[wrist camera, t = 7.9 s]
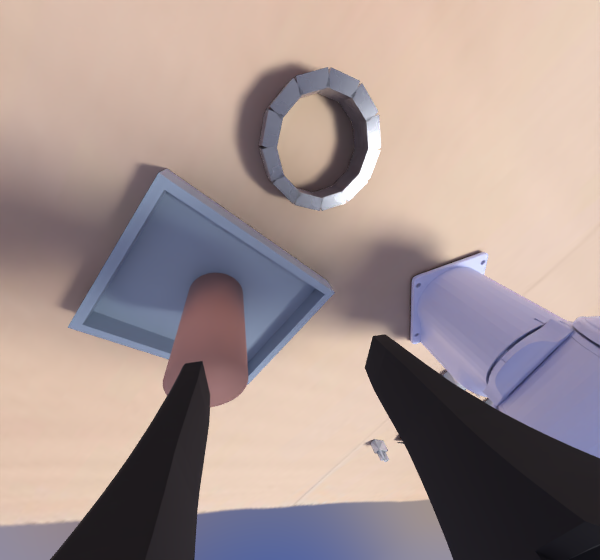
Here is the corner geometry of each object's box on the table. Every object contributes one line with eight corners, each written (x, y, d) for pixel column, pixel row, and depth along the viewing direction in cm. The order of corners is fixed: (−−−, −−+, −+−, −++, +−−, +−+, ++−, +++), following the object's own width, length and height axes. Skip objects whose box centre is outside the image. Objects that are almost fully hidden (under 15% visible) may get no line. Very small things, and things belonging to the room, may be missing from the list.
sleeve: (368, 186, 18) (382, 191, 16) (278, 214, 17) (283, 223, 16) (359, 63, 14) (376, 53, 12) (243, 95, 14) (244, 89, 12)
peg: (249, 307, 20) (257, 392, 13) (201, 321, 20) (185, 416, 13) (233, 266, 18) (233, 342, 11) (179, 281, 18) (145, 370, 11)
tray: (326, 280, 21) (334, 292, 20) (246, 367, 24) (247, 384, 23) (167, 168, 14) (158, 172, 13) (83, 309, 17) (67, 327, 16)
